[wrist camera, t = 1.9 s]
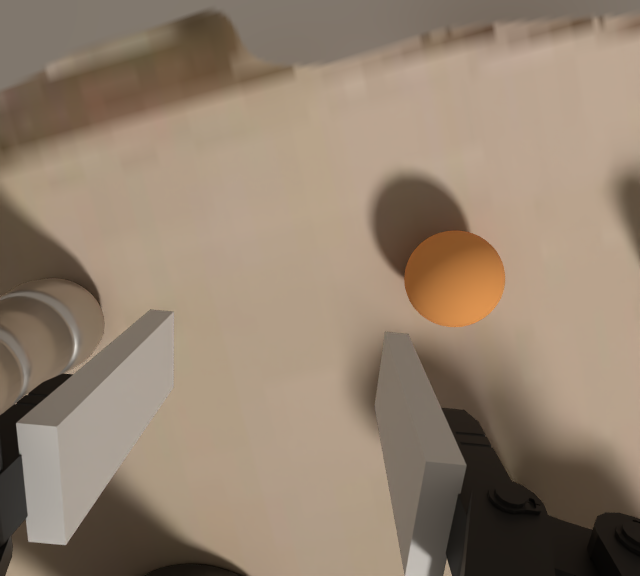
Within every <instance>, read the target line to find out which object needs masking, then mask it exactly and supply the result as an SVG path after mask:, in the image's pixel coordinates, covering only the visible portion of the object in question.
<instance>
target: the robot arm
mask: <svg viewBox="0 0 640 576" xmlns="http://www.w3.org/2000/svg"><path fill="white" fill-rule="evenodd" d="M173 387H174V312H172V311H162V310H151V309H150V310H149V311H148V312H147V313H146V314H145V315H143V316H142V317H141V318H140V319H139V320H137V321H136V322H135V323H134V324H133V325H131V326H130V327H129V328H128V329H127V330H126V331H124V332H123V333H122V334H121V335H120V336H118V337H117V338H116V339H115V340H114V341H113V342H111V343H110V344H109V345H108V346H107V347H105V348H104V349H103V350H102V351H101V352H99V353H98V354H97V355H96V356H95V357H94V358H92V359H91V360H90V361H89V362H88V363H86V364H85V365H84V366H83V367H82V368H81V369H79V370H78V371H77V372H76V373H75V374H60V375H58V376H56V377H53V378H51V379H49V380H46V381H44V382H42V383H41V384H40V385H38V386H37V387H36V388H34V389H33V390H32V391H31V392H29V394H28V395H25V396H24V397H23V398H22V399H20V400H19V401H18V402H17V404H16V405H15V404H14V405H13V406H11V407H10V408H9V409H7V410H6V411H5V412H4V413H2V414H1V415H0V576H5V575H6V572H7V569H8V566H9V563H10V560H11V558H12V551H13V544H12V534H13V533H14V532H15V531H16V529H17V528H18V527H19V526H20V525H21V523H22V522H23V521H24V520H25V519H26V525H27V534H28V542H37V543H47V544H58V545H66V544H67V543H68V541H69V540H70V538H71V537H72V535H73V534H74V533H75V531H76V530H77V528H78V527H79V525H80V524H81V522H82V521H83V519H84V518H85V516H86V515H87V514H88V512H89V511H90V509H91V508H92V506H93V505H94V503H95V502H96V500H97V499H98V497H99V496H100V494H101V493H102V492H103V490H104V489H105V487H106V486H107V484H108V483H109V481H110V480H111V478H112V477H113V475H114V474H115V472H116V471H117V470H118V468H119V467H120V465H121V464H122V462H123V461H124V459H125V458H126V456H127V455H128V453H129V452H130V450H131V449H132V448H133V446H134V445H135V443H136V442H137V440H138V439H139V437H140V436H141V434H142V433H143V431H144V430H145V428H146V427H147V426H148V424H149V423H150V421H151V420H152V418H153V417H154V415H155V414H156V412H157V411H158V409H159V408H160V407H161V405H162V404H163V402H164V401H165V399H166V398H167V396H168V395H169V393H170V392H171V390H172V389H173ZM374 407H375V412H376V418H377V423H378V429H379V435H380V440H381V446H382V452H383V457H384V463H385V468H386V474H387V480H388V485H389V491H390V496H391V502H392V508H393V513H394V519H395V524H396V530H397V536H398V541H399V547H400V552H401V558H402V564H403V569H404V575H405V576H443V574H444V569H445V564H446V559H447V560H448V563H449V566H450V570H451V573H452V576H640V519H638V518H635V517H632V516H628V515H625V514H621V513H604V514H602V515H599V516H597V519H596V521H595V524H594V527H593V530H590V529H587V528H584V527H581V526H578V525H575V524H571V523H568V522H565V521H562V520H559V519H557V518H554V517H552V516H549V515H547V511H546V509H545V507H544V504H543V503H542V502H541V500H540V499H539V498H538V497H537V496H536V495H535V494H534V493H533V492H531V491H530V490H528V489H527V488H525V487H524V486H522V485H520V484H517V483H515V482H513V481H511V479H510V478H509V476H508V474H507V472H506V471H505V469H504V467H503V465H502V463H501V462H500V460H499V458H498V456H497V454H496V453H495V451H494V449H493V448H491V444H490V442H489V440H488V438H487V437H485V433H484V431H483V429H482V428H481V426H480V424H479V422H478V421H477V420H475V419H474V418H473V417H472V416H471V415H469V414H468V413H467V412H466V411H465V410H458V409H448V408H441V406H440V404H439V402H438V400H437V397H436V395H435V393H434V391H433V388H432V386H431V384H430V382H429V379H428V377H427V375H426V373H425V370H424V368H423V366H422V364H421V361H420V359H419V357H418V355H417V352H416V350H415V348H414V346H413V343H412V341H411V339H410V337H409V334H403V333H393V332H385V336H384V343H383V350H382V357H381V364H380V371H379V378H378V385H377V392H376V399H375V406H374ZM145 576H240V575H237V574H235V573H233V572H230V571H227V570H224V569H221V568H217V567H213V566H207V565H197V564H184V565H174V566H169V567H165V568H161V569H158V570H155V571H153V572H150V573H148V574H146V575H145Z"/></svg>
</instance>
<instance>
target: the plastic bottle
mask: <svg viewBox="0 0 640 576" xmlns="http://www.w3.org/2000/svg"><path fill="white" fill-rule="evenodd" d="M104 326H105V323H104V316H103V313H102V309H101V307H100V305H99V304H98V302H97V300H96V299H95V298H94V297H93V295H92V294H91V293H90V292H88V291H87V290H86V289H85V288H83V287H82V286H80V285H78V284H77V283H74V282H72V281H69V280H65V279H60V278H47V279H40V280H35V281H29V282H25V283H23V284H21V285H18V286H17V287H15V288H13V289H12V290H10V291H9V292H7V293H6V294H4V295H3V296H1V297H0V415H1V414H2V413H4V412H5V411H6V410H7V409H9V408H10V407H11V406H13V405H14V404H15V403H16V402H17V401H19V400H20V399H21V398H22V397H23V396H24V395H26V394H28V393H29V392H31V391H32V390H33V389H34V388H36V387H37V386H38V385H40V384H41V383H42V382H44V381H46V380H49V379H51V378H53V377H56V376H58V375H60V374H64V373H66V372H68V371H70V370H71V369H73V368H75V367H77V366H78V365H80V364H81V363H83V362H84V361H85V360H86V359H87V358H88V357H90V355H91V354H92V353H93V351H94V350H95V349H96V347H97V346H98V344H99V343H100V341H101V339H102V336H103V333H104Z"/></svg>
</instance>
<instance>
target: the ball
mask: <svg viewBox="0 0 640 576" xmlns="http://www.w3.org/2000/svg"><path fill="white" fill-rule="evenodd" d="M404 281H405V289H406V292H407V295H408V298H409V300H410V302H411V304H412V305H413V307H414V308H415V309H416V310H417V311H418V312H419V313H420V314H421V315H422V316H423V317H424V318H426V319H428V320H429V321H431V322H433V323H436V324H439V325H442V326H448V327H462V326H467V325H470V324H473V323H475V322H478V321H480V320H481V319H483V318H484V317H486V316H487V315H488V314H489V313H490V312H491V311H492V310H493V309H494V308H495V307H496V305H497V304H498V302H499V300H500V298H501V296H502V294H503V290H504V285H505V272H504V267H503V263H502V261H501V259H500V257H499V255H498V253H497V252H496V250H495V249H494V248H493V247H492V246H491V245H490V244H489V243H488V242H487V241H486V240H484V239H483V238H481V237H479V236H477V235H475V234H472V233H469V232H465V231H456V230H453V231H445V232H441V233H438V234H435V235H433V236H431V237H429V238H427V239H426V240H424V241H423V242H422V243H421V244H419V245H418V246H417V248H416V249H415V250H414V251H413V253H412V254H411V256H410V258H409V260H408V263H407V265H406V270H405V277H404Z"/></svg>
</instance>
